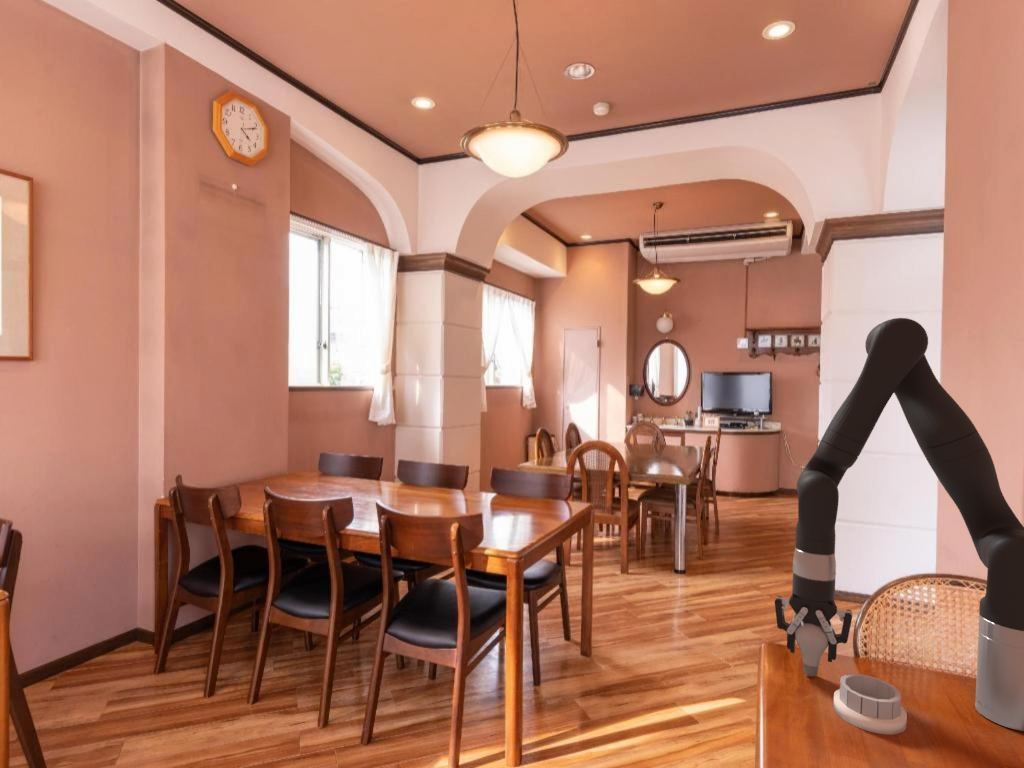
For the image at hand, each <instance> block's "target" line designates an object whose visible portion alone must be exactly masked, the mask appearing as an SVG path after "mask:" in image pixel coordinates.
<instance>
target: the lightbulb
mask: <svg viewBox="0 0 1024 768" xmlns="http://www.w3.org/2000/svg"><path fill="white" fill-rule="evenodd" d="M795 639H796V640H795V642H796V644H797V646H798V647H799V650H800V653H801V661H802V663H803V666H802V667H803V672H804V674H805V675H807V676H808V677H810V678H813V677H816V676H817V675H818V672H819V666H820V665H821V664H820V663H821V659H822V656H823V654H824V652H825V651H826V650H827V648H828V643H829V639H828V637H827V635H826V633H825V632H824V630H823V627H822V625H821V626H816V625H814V624H812V623H808V624H807V623H803V621H801V623H800V624H799V626H798V627H797V628H796V630H795Z"/></svg>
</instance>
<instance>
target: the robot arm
mask: <svg viewBox="0 0 1024 768" xmlns="http://www.w3.org/2000/svg"><path fill="white" fill-rule="evenodd" d="M928 346H929V336H928V332H927V331H926V329H925V328H924V327H923V325H921V324H920V323H919V322H917V321H916V320H913V319H912V318H908V317H907V318H906V317H899V318H898V317H896V318H895V317H894V318H891V319H887V320H885V321H883V322H881V323H879V324H877V325H876V326H874V327H873V328H871V330H870V331H869V332H868V334H867V336H866V339H865V351H866V353H867V357H866V360H865V363H864V366H863V367H862V370H861V372H860V375H859V376H858V378H857V380H856V382H855V384H854V386H853V387H852V389H851V391H850V392H849V394H848V395H847V396H846V398H845V400H844V401H843V402H842V404H841V405H840V407H839V408H838V410H837V411H836V413H835V414H834V416H833V417H832V419H831V421H830V422H829V425H828V426H827V428H826V430H825V432H824V433H823V435H822V437H821V440H820V441H819V443H818V446H817V448H816V450H815V452H814V454H812V456H811V458H809V461H808V462H807V463H806V465H805V467H804V468H803V470H802V471H801V474H800V476H799V477H798V479H797V482H796V491H797V497H798V498H797V499H798V500H797V503H798V507H797V509H798V510H797V513H798V514H797V515H798V516H797V517H798V518H797V519H798V520H797V522H796V525H795V526H796V527H795V541H794V542H795V543H794V544H795V546H794V547H795V548H794V553H793V559H792V561H793V563H792V587H791V588H792V590H791V591H792V592H791V596H790V597H783V596H781V595H777V596H776V597H775V600H774V607H775V608H774V609H775V617H776V618H775V619H776V627H777V628H778V629H780V630H783V631H785V632H786V636H787V637H786V648H787V650H789V652H790V653H791V654H795V652H796V639H795V630H796V628H797V627H798V626H799V624H800V623H801V622H803V623H807V624H808V623H812V624H814V625H816V626H821V625H822V627H823V630H824V632H825V633H826V635H827V637H828V639H829V643H828V647H827V648H828V649H827V651H828V652H827V663H832V662H833V661H836V659H837V647H838V645H839V644H843V645H844V644H847V643H848V640H849V634H850V629H851V624H852V620H853V611H852V610H851V609H849V608H848V609H846V610H845V609H842V608H839V607H838V606H837V605H836V602H835V599H836V598H835V597H836V596H835V595H836V578H837V577H836V576H837V571H836V570H837V561H836V522H837V516H838V510H839V508H838V507H839V498H840V496H839V495H840V493H839V488H838V486H839V485H840V483H841V481H842V480H843V478H844V476H845V474H846V472H847V471H848V470H849V469H850V468H851V467H853V465H854V464H855V463H856V461H857V460H858V458H859V457H860V454H861V453H862V451H863V449H864V448H865V445H866V444H867V442H868V440H869V438H870V436H871V434H872V432H873V430H874V429H875V426H876V424H877V423H878V420H879V419H880V417H881V414H882V413H883V411H884V409H885V408H886V406H887V404H888V402H889V400H890V399H891V398H892V396H893V395H895V397H896V399H897V401H898V403H899V405H900V407H901V410H902V412H903V415H904V417H905V420H906V421H907V424H908V426H909V428H910V430H911V433H912V434H913V436H914V438H915V440H916V442H917V445H918V446H919V448H920V450H921V452H922V453H923V455H924V458H925V459H926V461H927V463H928V465H929V466H930V468H931V470H932V471H933V472H934V474H935V476H936V478H938V481H939V482H940V484H941V485H942V487H943V488H944V489H945V491H946V493H947V494H948V496H949V497H950V499H951V500H952V501H953V502H954V504H955V506H956V507H957V510H959V513H960V514H961V517H962V520H963V521H964V523H965V525H966V529H967V531H968V533H969V535H970V538H971V540H972V543H973V545H974V548H975V550H976V554H977V556H978V557H979V558H978V559H979V560H980V561H981V563H982V564H983V565H984V567H986V569H987V579H986V588H985V589H986V590H985V594H984V596H983V597H981V598H980V599H979V609H978V610H979V613H978V614H979V615H978V636H977V659H976V660H977V662H976V680H975V681H976V683H975V684H976V685H975V686H976V687H975V703H974V704H975V707H974V708H975V710H976V711H977V712H978V713H979V714H980V715H982V717H984V718H985V719H988V720H989V721H991V722H993V723H995V724H997V725H1000V726H1002V727H1005V728H1009V729H1012V730H1016V731H1021V732H1024V525H1023V524H1022V523H1021V521H1020V520H1019V518H1018V517H1017V516H1016V514H1015V513H1014V511H1013V510H1012V508H1011V507H1010V505H1009V504H1008V502H1007V500H1006V498H1005V497H1004V495H1003V491H1002V490H1001V489H1002V488H1001V487H1000V482H999V479H998V475H997V470H996V467H995V464H994V460H993V459H992V455H991V453H990V451H989V449H988V446H987V445H986V443H985V441H984V440H983V438H982V436H981V435H980V433H979V430H978V429H977V428H976V426H975V425H974V422H973V421H972V420H971V418H970V417H969V416H968V414H967V413H966V412H965V411H964V410H963V409H962V406H960V405H959V404H958V403H957V402H956V401H955V399H954V398H953V397H952V396H951V395H950V393H948V392H947V390H946V389H945V388H944V387H943V386H942V385H941V383H940V382H939V380H938V379H937V378H936V376H935V373H934V372H933V369H932V367H931V366H930V364H929V362H928V359H927V357H926V354H925V353H926V352H927V349H928ZM788 605H789V606H790V607H791V609H792V610H793V612H794V613H795V614H794V615H793V617H792V620H790V622H787V621H786V617H785V610H786V609H787V607H788ZM836 615H838V617H839V620H840V622H842V626H841V632H840V633H836V631H835V629H834V627H833V623H832V622H831V619H833V617H835V616H836Z"/></svg>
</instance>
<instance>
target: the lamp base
mask: <svg viewBox="0 0 1024 768" xmlns="http://www.w3.org/2000/svg"><path fill="white" fill-rule="evenodd" d="M832 706H833V710H834V711H835V713H836V714H837V715H838V717H839V718H841V719H842V720H844V721H845V722H846V723H848V724H850V725H851V726H853V727H857V728H858V729H861V730H863V731H868V732H871V733H874V734H878V735H891V736H892V735H898V734H902V733H903V732H904V731H905V730H906V729H907V719H908V717H907V716H908V715H907V710H906V709H905V708H904V707H903V706H902V693H901V691H900V690H899V689H897V688H896V687H895V686H894V685H893V684H892V683H889V682H887V681H885V680H883V679H881V678H879V677H875V676H870V675H867V674H862V673H848V674H845V675H842V676H840V681H839V688H837V689H836V690H835V691H834V693H833V705H832Z"/></svg>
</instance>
